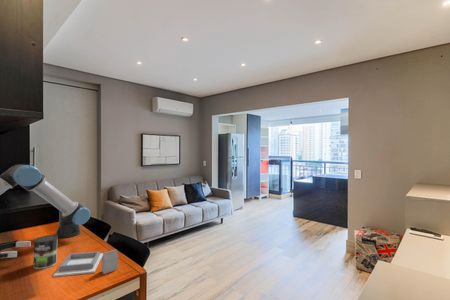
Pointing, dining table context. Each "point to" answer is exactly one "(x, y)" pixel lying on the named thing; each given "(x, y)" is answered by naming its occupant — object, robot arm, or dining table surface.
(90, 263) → the caddy
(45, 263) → the coffee can
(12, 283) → the dining table surface
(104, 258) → the white printed box
